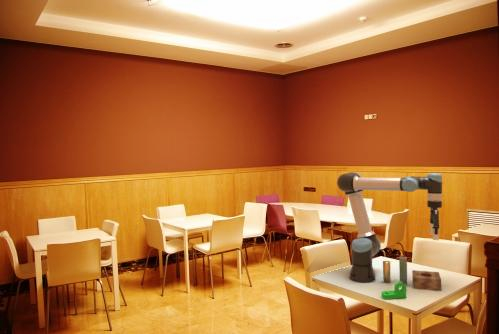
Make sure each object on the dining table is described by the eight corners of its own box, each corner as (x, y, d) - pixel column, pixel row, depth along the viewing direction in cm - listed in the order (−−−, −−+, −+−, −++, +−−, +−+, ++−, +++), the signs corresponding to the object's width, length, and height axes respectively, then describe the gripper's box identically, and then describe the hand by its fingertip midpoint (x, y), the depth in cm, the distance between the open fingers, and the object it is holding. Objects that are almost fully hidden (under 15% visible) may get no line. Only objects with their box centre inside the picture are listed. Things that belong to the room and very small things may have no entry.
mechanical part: (400, 293, 206) (400, 278, 205) (406, 297, 200) (406, 282, 199) (379, 295, 204) (379, 280, 204) (384, 299, 198) (384, 284, 198)
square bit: (399, 284, 219) (399, 258, 219) (399, 281, 223) (399, 256, 223) (407, 284, 218) (406, 258, 217) (407, 282, 222) (406, 256, 221)
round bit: (383, 282, 223) (382, 262, 222) (383, 280, 226) (383, 260, 226) (390, 283, 221) (390, 262, 221) (390, 281, 225) (390, 260, 224)
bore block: (413, 288, 212) (413, 277, 212) (412, 280, 225) (412, 270, 225) (441, 290, 207) (441, 279, 207) (438, 282, 220) (438, 272, 220)
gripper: (445, 203, 205) (444, 242, 206) (438, 198, 229) (438, 233, 230) (430, 203, 208) (429, 241, 209) (425, 197, 231) (424, 232, 232)
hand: (434, 237), depth 219 cm, fingers open, 13 cm apart
